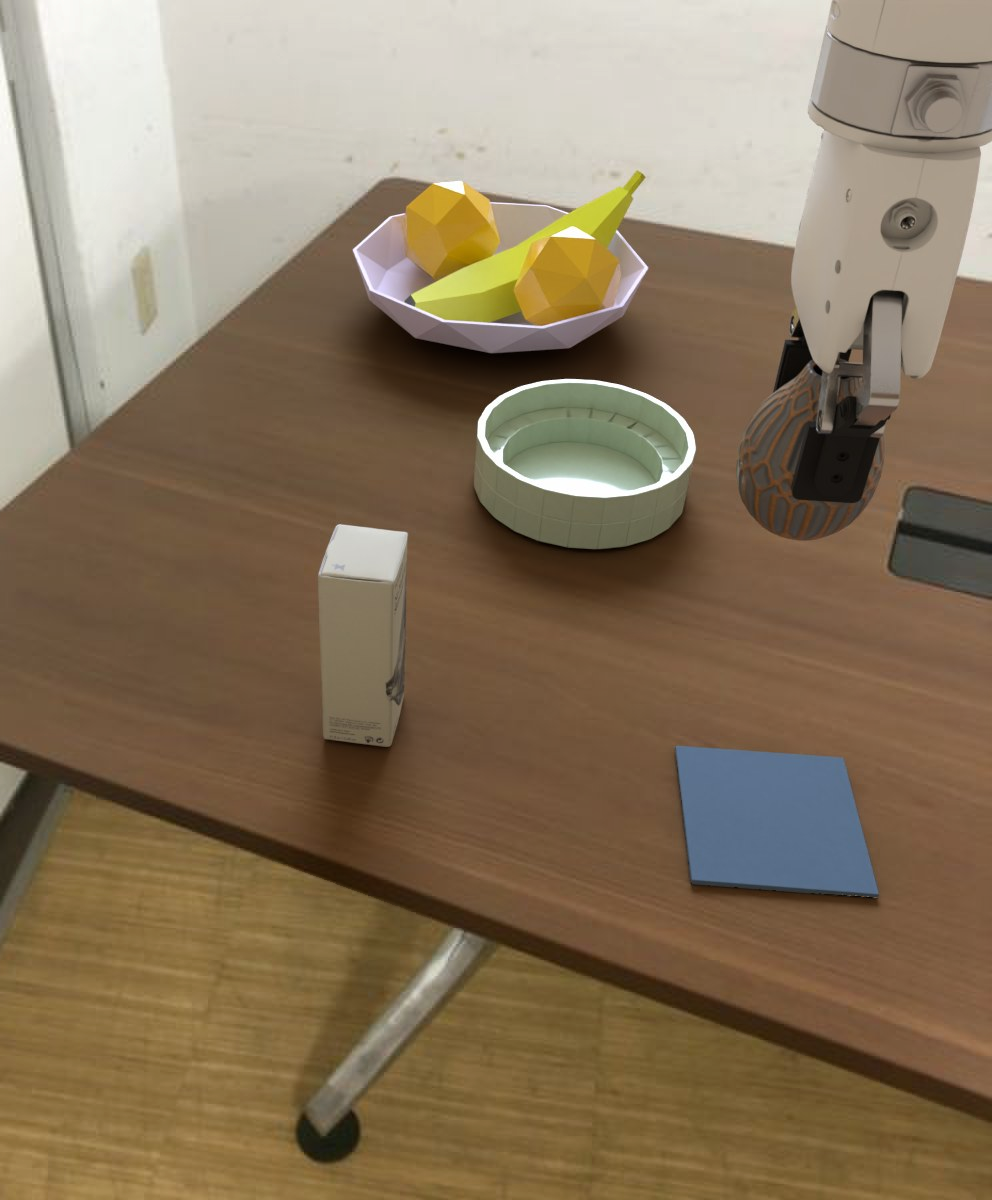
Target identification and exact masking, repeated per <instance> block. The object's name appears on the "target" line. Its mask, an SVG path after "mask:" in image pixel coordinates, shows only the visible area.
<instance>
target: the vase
mask: <svg viewBox="0 0 992 1200" xmlns="http://www.w3.org/2000/svg"><path fill="white" fill-rule="evenodd" d="M839 362H848V361H845V360H843V359H839ZM849 363H851V362H850V361H849ZM822 372H823V370H822V369H821V368H820V367H819V366H818V365H817V364H816V363H815V362H814V360H811V361H810V362H809V363H808V364H807V365H806V366H805V368H804V369H803V370H802V371H801V373H800V374H799V375H798V376H797V377H795V378H794V379H792V380H791V381H789V382H788V383H786V384H785V385H784V386H782V387H781V388H779V389H778V390H777V391H775V392H774V393H773V392H772V393H771V394H770V395H768V397H766V398H764V400H763V401H762V402H761V403H760V405H759V406H757V408H756V410H755V411H754V412H753V414H752V416H751V418H750V419H749V421H748V423H747V424H746V426H745V429H744V431H743V432H742V435H741V438H740V442H739V446H738V451H737V458H736V464H735V470H736V473H735V474H736V483H737V489H738V492H739V495H740V499H741V502H742V504H743V505H744V507H745V508H746V511H747V512H748V514H749V515H750V516H751V517H752V518H753V519H754V520H755V521H756V522H757V523H758V525H760V526H761V527H762V528H763V529H764V530H766V531H767V532H769V533H771V534H773V535H775V536H778V537H781V538H784V539H786V540H787V539H788V540H792V541H799V542H801V541H804V542H805V541H806V542H807V541H815V540H819V539H823V538H826V537H829V536H831V535H834V534H836V533H838V532H840V531H842V530H844V529H845V528H847V527H848V526H850V525H851V524H853V523H854V521H856V519H858V517H859V516H860V515H861V514H862V513H863V512H864V510H865V509H866V508H867V506H868V505H869V503H870V502H871V500H872V498H873V497H874V496H875V492H876V490H877V487H878V485H879V482H880V479H881V477H882V473H883V469H884V463H885V451H886V450H885V436H884V435H885V434H883V435H882V437H881V438H880V440H879V443H878V446H877V449H876V453H875V456H874V459H873V463H872V466H871V469H870V472H869V476H868V479H867V482H866V485H865V489H864V492H863V495H862V498H861V499H860V500H859V501H858V502H856V503H841V502H825V501H810V500H798V499H795V498H794V497H793V495H792V491H791V484H792V481H793V477H794V473H795V469H796V465H797V461H798V457H799V453H800V450H801V446H802V442H803V438H804V434H805V430H806V426H807V423H808V421H813V422H816V418H817V410H818V403H819V395H820V388H821V380H822ZM861 381H862V378H857V377H840V384H839V392H838V399H837V404H838V403H840V402H841V401H842V400H843V399H844V398H845V397H847V396H856V394H857V390H858V389H859V387H860V385H861Z"/></svg>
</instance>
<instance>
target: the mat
mask: <svg viewBox="0 0 992 1200" xmlns="http://www.w3.org/2000/svg"><path fill="white" fill-rule="evenodd" d="M675 751H676V757H675V760H676V759H677V765H676V768H677V767H678V773H677V777H678V776H679V782H678V785H679V784H680V790H679V793H680V792H681V798H680V801H681V800H682V807H681V813H682V812H683V815H682V821H683V820H684V823H683V831H684V830H685V832H684V838H685V837H686V840H685V846H687V848H686V856H687V855H688V856H687V863H688V862H689V865H688V872H689V881H690V880H691V881H690V884H691V883H692V884H691V885H696V886H708V885H710V887H720V888H722V887H723V888H734V887H738V888H737V889H750V890H759V889H761V891H772V890H776V891H775V892H784V893H785V892H786V893H787V892H788V893H799V894H811V893H815V894H814V895H824V894H838V895H842V894H843V895H851V896H855V895H857V896H864V897H867V896H869V897H878V898H879V895H880V893H879V889H878V884H877V881H876V878H875V873H874V869H873V866H872V862H871V858H870V854H869V850H868V846H867V842H866V839H865V835H864V831H863V827H862V823H861V820H860V817H859V812H858V807H857V804H856V800H855V797H854V792H853V789H852V785H851V781H850V778H849V773H848V770H847V769H848V768H847V766H846V762H845V758H844V757H840V756H828V755H827V756H825V755H813V754H812V755H811V754H797V753H786V752H771V751H757V750H756V751H755V750H742V749H741V750H740V749H727V748H713V747H701V746H700V747H699V746H685V745H675V746H674V752H675ZM682 809H683V811H682ZM683 818H684V819H683ZM684 828H685V829H684ZM819 893H821V894H819Z"/></svg>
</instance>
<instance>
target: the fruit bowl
mask: <svg viewBox="0 0 992 1200" xmlns="http://www.w3.org/2000/svg"><path fill="white" fill-rule="evenodd" d="M645 179H646V176H645V174H644V173H643V172H642V171H639V170H638V169H636V171H634V173H633V174H632V176H631V177H630V178H629V179H628V181H627V182H626V183H625V185H624V186H621V185H620V186H618V187H616V188H614V189H612V190H610V191H608V192H606V193H604V194H602V195H601V196H599V197H596V198H595V199H593V200H591V201H589V202H587V203H585V204H584V205H581V206H579V207H577V208H575V209H573V210H571V211H570V212H567V211H564V210H561V209H558V208H557V207H556V208H555V207H553V206H550V205H547V204H546V205H545V204H531V203H530V204H529V203H512V202H511V203H510V202H494V201H491V200H490V198H488V197H486V196H485V195H483V194H482V193H480V192H479V191H477V190H476V189H475V188H473V187H472V186H470V185H469V184H468V183H466V182H465V181H463V180H457V181H446V182H445V181H444V182H432V184H430V185H429V186H428V187H427V188H426V189H425V190H423V192H421V193H420V194H419V195H418V196H416V198H415V199H413V200H412V201H410V203H409V204H407V205H406V208H405V212H404V213H400V214H395V215H390V216H388V218H386V219H385V220H384V221H383V222H382V223H380V224H379V226H377V228H375V229H374V230H373V231H372V232H370V233H369V234H368V235H367V236H366V237H365V238H364V239H363V240H362V241H361V242H359V244H357V245H356V246H355V247H353V248H352V252H353V253H352V254H353V255H354V258H355V261H356V265H357V268H358V270H359V274H360V276H361V281H362V283H363V285H364V288H365V291H366V294H367V297H368V301H369V302H371V303H372V304H373V305H375V306H376V307H377V308H378V309H379V310H381V311H382V312H383V313H384V314H385V315H387V316H388V317H389V318H390V319H392V321H394V323H396V324H397V325H398V326H400V327H401V328H402V329H403V330H405V331H406V332H407V333H409V334H410V335H411V336H412V337H413V338H414V339H417V340H418V339H419V340H424V341H429V342H432V343H439V344H444V345H448V346H453V347H459V348H463V349H468V350H473V351H479V352H484V353H488V354H504V353H517V352H519V353H520V352H531V351H533V352H535V351H546V350H548V351H549V350H561V349H563V350H564V349H570V348H573V347H574V346H576V345H577V344H579V343H581V342H583V341H584V340H586V339H588V338H589V337H591V336H593V335H594V334H596V333H598V332H599V331H601V330H603V329H604V328H606V327H608V326H609V325H611V324H613V323H615V322H616V321H617V320H620V319H621V318H623V317H624V315H625V314H626V311H627V310H628V308H629V306H630V305H631V304H630V303H631V302H632V300H633V298H634V296H635V294H636V293H637V291H638V289H639V287H640V285H641V283H642V282H643V279H644V278H645V276H646V274H647V272H648V270H649V266H647V264H646V263H645V261H643V259H642V258H641V257H640V255H638V254H637V252H636V251H635V249H633V247H632V246H631V244H629V242H628V241H627V240H626V239H625V237H624V236H623V235H622V234H621V233H620V231H619V227H620V225H621V223H622V221H623V219H624V217H625V216H626V214H627V212H628V210H629V208H630V206H631V204H632V203H633V201H634V197H633V194H634V193H635V192H636V190H637V189H638V188H639V187H640V186H641V184H642V183H643V182H644V180H645Z"/></svg>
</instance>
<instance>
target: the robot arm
mask: <svg viewBox="0 0 992 1200" xmlns="http://www.w3.org/2000/svg"><path fill="white" fill-rule="evenodd" d="M807 114H808V116H809V119H810V120H811V121H812V122H813V123H814V124H815V125H817V126H818V127H821V128H822V129H823V130H822V132H821V137H820V139H821V140H820V144H819V148H818V151H817V154H816V158H815V162H814V166H813V169H812V173H811V177H810V181H809V185H808V189H807V192H806V196H805V200H804V205H803V209H802V214H801V217H800V222H799V226H798V231H797V236H796V241H795V245H794V252H793V257H792V264H791V274H790V285H791V292H792V296H793V300H794V304H795V306H794V308H793V311H792V313H791V315H790V318H789V323H788V324H789V325H788V336H789V338H792V339H785V340H784V343H783V348H782V351H781V356H780V361H779V365H778V370H777V373H776V377H775V381H774V386H773V391H772V394H773V393H774V392H775V391H777V390H778V389H779V388H781V387H782V386H784V385H785V384H786V383H788V382H789V381H791V380H792V379H794V378H795V377H797V376H798V375H799V374H800V373H801V371H802V370H803V369H804V368H805V366H806V365H807V364H808V363H809V362H810V361H811V360H814V362H815V363H816V364H817V365H818V366H819V367H820V368H821V369H822V370H823V372H822V380H821V388H820V395H819V403H818V410H817V418H816V422H813V421H808V423H807V426H806V430H805V434H804V438H803V442H802V446H801V450H800V453H799V457H798V461H797V465H796V469H795V473H794V477H793V481H792V484H791V491H792V495H793V497H794V498H795V499H798V500H810V501H825V502H841V503H856V502H858V501H859V500H860V499H861V498H862V495H863V492H864V489H865V485H866V482H867V479H868V476H869V472H870V469H871V466H872V463H873V459H874V456H875V453H876V449H877V446H878V443H879V440H880V438H881V437H882V435H884V434H885V430H886V425H887V421H888V420H890V419H891V417H892V414H893V413H894V412H895V411H896V410H897V409H898V407H899V404H900V400H901V388H902V387H901V384H902V381H901V380H902V379H901V378H902V372H903V375H904V376H908V377H910V378H911V379H917V380H919V379H922V378H923V377H925V376H926V375H927V374H928V373H929V372H930V370H931V369H932V366H933V363H934V360H935V356H936V353H937V349H938V347H939V343H940V339H941V336H942V332H943V328H944V324H945V320H946V318H947V315H948V314H947V313H948V310H949V307H950V303H951V298H952V294H953V291H954V287H955V283H956V280H957V276H958V273H959V268H960V265H961V261H962V257H963V252H964V248H965V244H966V240H967V236H968V231H969V226H970V222H971V217H972V213H973V208H974V203H975V197H976V192H977V185H978V180H979V174H980V173H979V172H980V164H981V157H982V152H981V151H982V150H981V147H984V146H986V145H988V144H990V143H991V142H992V0H831V3H830V7H829V12H828V17H827V22H826V25H825V29H824V33H823V38H822V43H821V47H820V52H819V56H818V60H817V66H816V71H815V75H814V79H813V84H812V89H811V93H810V97H809V101H808V105H807ZM853 350H859V351H862V362H850V357H851V354H852V351H853ZM839 359H843V360H845V361H848V362H839ZM849 362H850V363H849ZM840 377H857V378H860V379H861V385H860V387H859V389H858V390H857V394H856V396H847V397H845V398H844V399H843V400H842V401H841V402H840V403H838V404H837V399H838V392H839V384H840Z"/></svg>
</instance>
